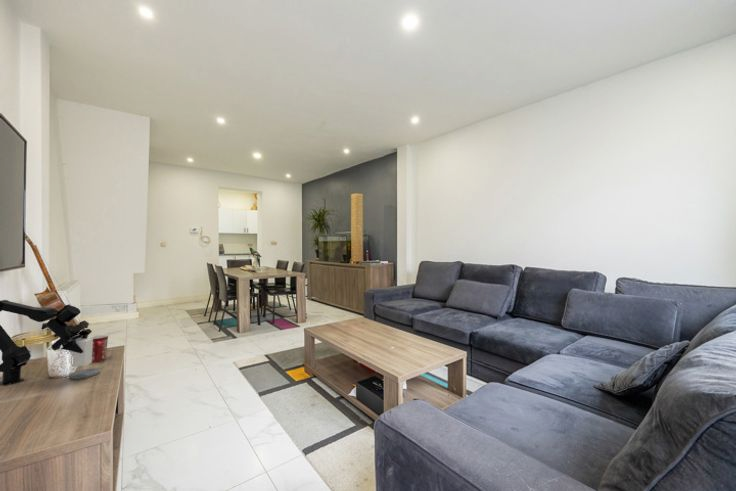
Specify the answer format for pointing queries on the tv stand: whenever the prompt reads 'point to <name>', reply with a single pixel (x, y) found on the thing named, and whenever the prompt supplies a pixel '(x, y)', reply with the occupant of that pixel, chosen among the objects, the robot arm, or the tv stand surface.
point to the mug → (99, 347)
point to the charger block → (86, 356)
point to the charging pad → (84, 373)
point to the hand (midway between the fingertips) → (86, 350)
